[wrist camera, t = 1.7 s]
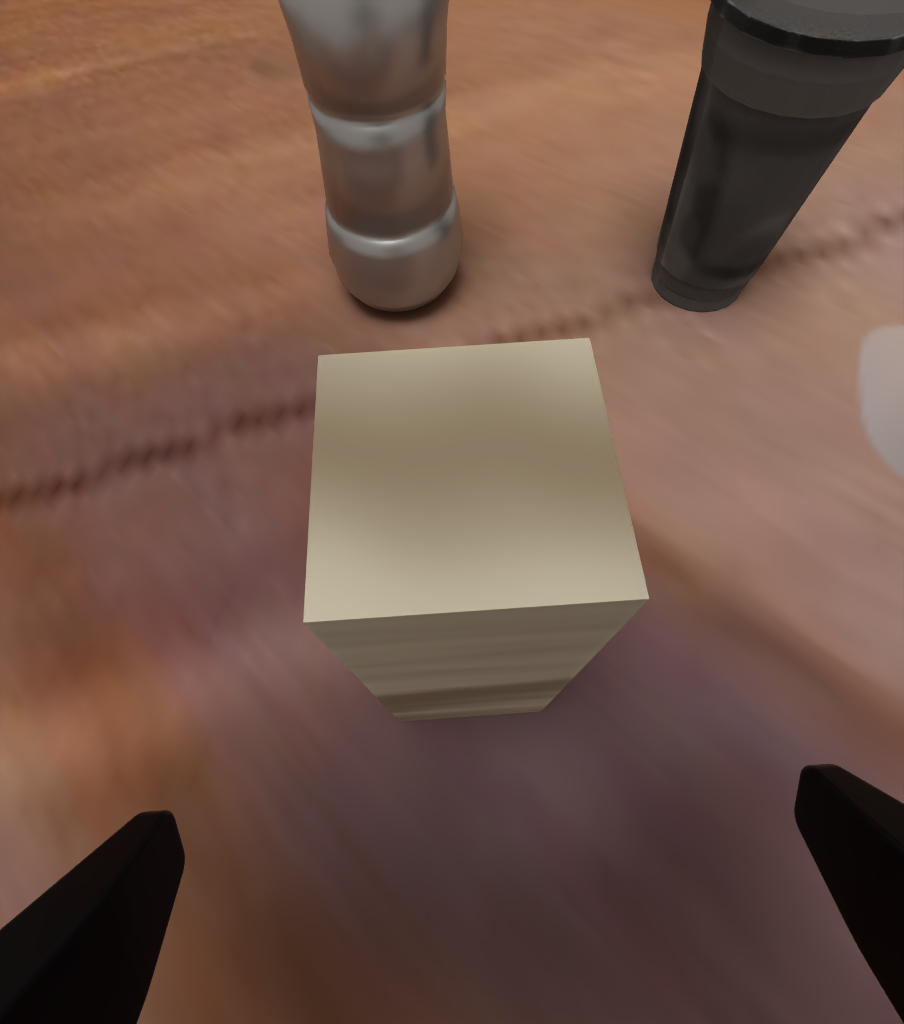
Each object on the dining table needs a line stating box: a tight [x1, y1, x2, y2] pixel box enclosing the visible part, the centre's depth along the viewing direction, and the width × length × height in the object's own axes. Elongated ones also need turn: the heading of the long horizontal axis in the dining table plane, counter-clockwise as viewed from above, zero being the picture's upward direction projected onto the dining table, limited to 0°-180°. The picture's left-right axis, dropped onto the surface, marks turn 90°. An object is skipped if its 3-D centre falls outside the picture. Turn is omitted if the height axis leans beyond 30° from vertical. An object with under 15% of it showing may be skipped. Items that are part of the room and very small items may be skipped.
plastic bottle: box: [278, 0, 462, 312], centre depth 20 cm, size 6×7×20 cm
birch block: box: [303, 338, 649, 721], centre depth 15 cm, size 5×5×13 cm
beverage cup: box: [652, 0, 904, 312], centre depth 20 cm, size 7×7×20 cm
